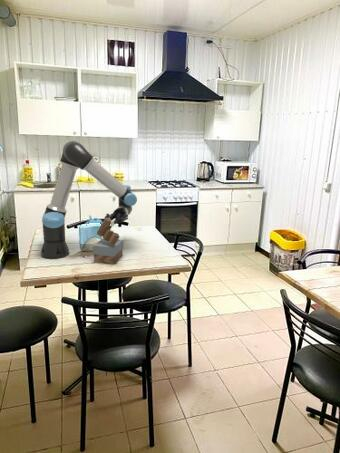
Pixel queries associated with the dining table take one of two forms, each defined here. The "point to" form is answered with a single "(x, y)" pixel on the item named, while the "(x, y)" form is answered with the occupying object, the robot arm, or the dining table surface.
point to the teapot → (94, 220)
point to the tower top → (107, 248)
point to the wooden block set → (108, 232)
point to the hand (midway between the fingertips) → (108, 223)
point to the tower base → (108, 258)
